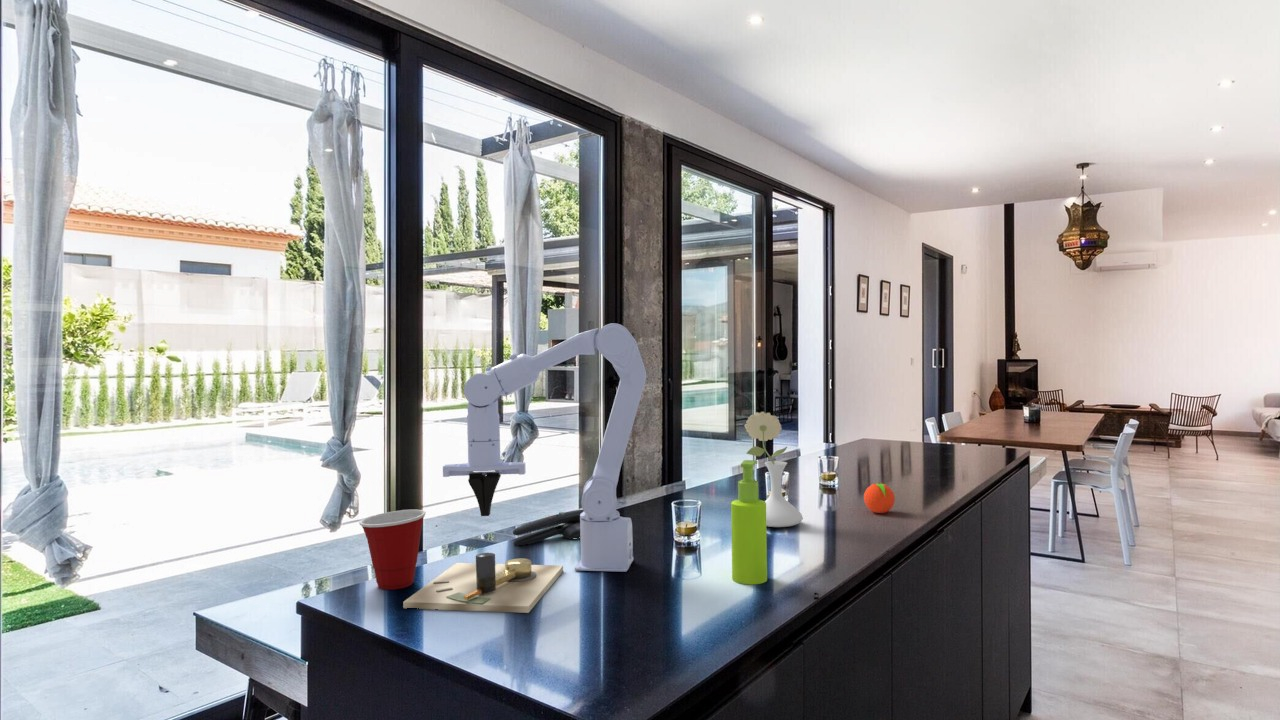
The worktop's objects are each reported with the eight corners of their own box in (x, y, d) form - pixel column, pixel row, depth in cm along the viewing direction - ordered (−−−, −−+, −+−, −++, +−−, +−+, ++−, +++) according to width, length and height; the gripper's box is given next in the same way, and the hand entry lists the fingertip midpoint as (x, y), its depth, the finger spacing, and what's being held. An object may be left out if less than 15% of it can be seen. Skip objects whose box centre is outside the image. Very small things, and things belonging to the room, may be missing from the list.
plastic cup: (375, 575, 133) (373, 507, 132) (435, 574, 132) (434, 507, 132) (349, 595, 122) (347, 522, 122) (415, 594, 121) (413, 521, 121)
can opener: (582, 530, 163) (581, 505, 163) (597, 537, 158) (597, 510, 157) (506, 543, 154) (505, 516, 154) (519, 550, 148) (518, 522, 148)
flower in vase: (810, 522, 166) (808, 410, 166) (791, 533, 157) (790, 415, 156) (756, 516, 173) (754, 408, 173) (735, 526, 164) (733, 413, 163)
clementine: (900, 517, 170) (900, 486, 170) (870, 517, 170) (869, 486, 170) (889, 509, 178) (889, 479, 178) (860, 509, 178) (860, 480, 178)
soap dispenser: (770, 573, 129) (769, 458, 129) (764, 585, 123) (762, 465, 123) (737, 570, 131) (735, 457, 131) (728, 582, 125) (727, 463, 125)
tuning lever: (515, 568, 130) (514, 537, 130) (536, 571, 128) (535, 539, 128) (454, 597, 115) (453, 562, 115) (477, 601, 113) (476, 565, 113)
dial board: (563, 571, 133) (563, 564, 133) (528, 612, 112) (528, 604, 112) (456, 568, 136) (456, 561, 136) (403, 608, 115) (403, 600, 115)
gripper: (526, 436, 139) (527, 508, 139) (447, 438, 138) (449, 511, 138) (522, 440, 132) (524, 517, 132) (439, 443, 131) (441, 520, 131)
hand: (485, 514), depth 135 cm, fingers closed
